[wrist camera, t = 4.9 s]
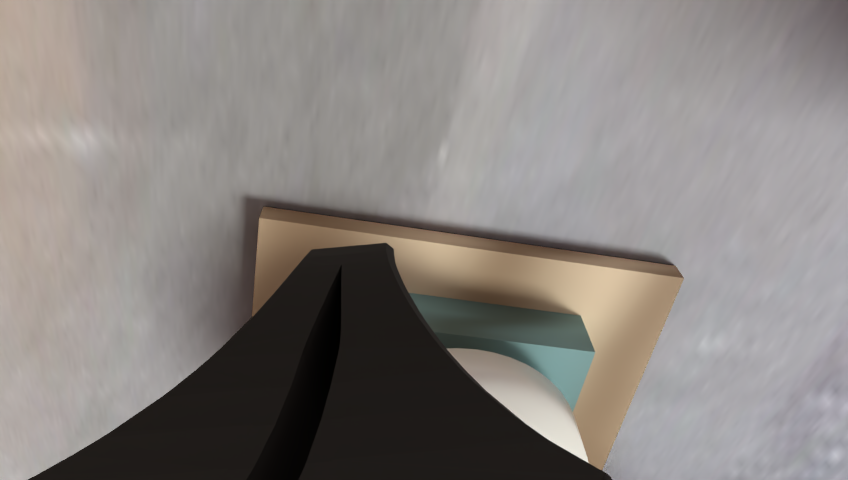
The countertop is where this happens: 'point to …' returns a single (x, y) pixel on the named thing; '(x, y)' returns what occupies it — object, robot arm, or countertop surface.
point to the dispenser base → (509, 304)
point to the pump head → (525, 395)
